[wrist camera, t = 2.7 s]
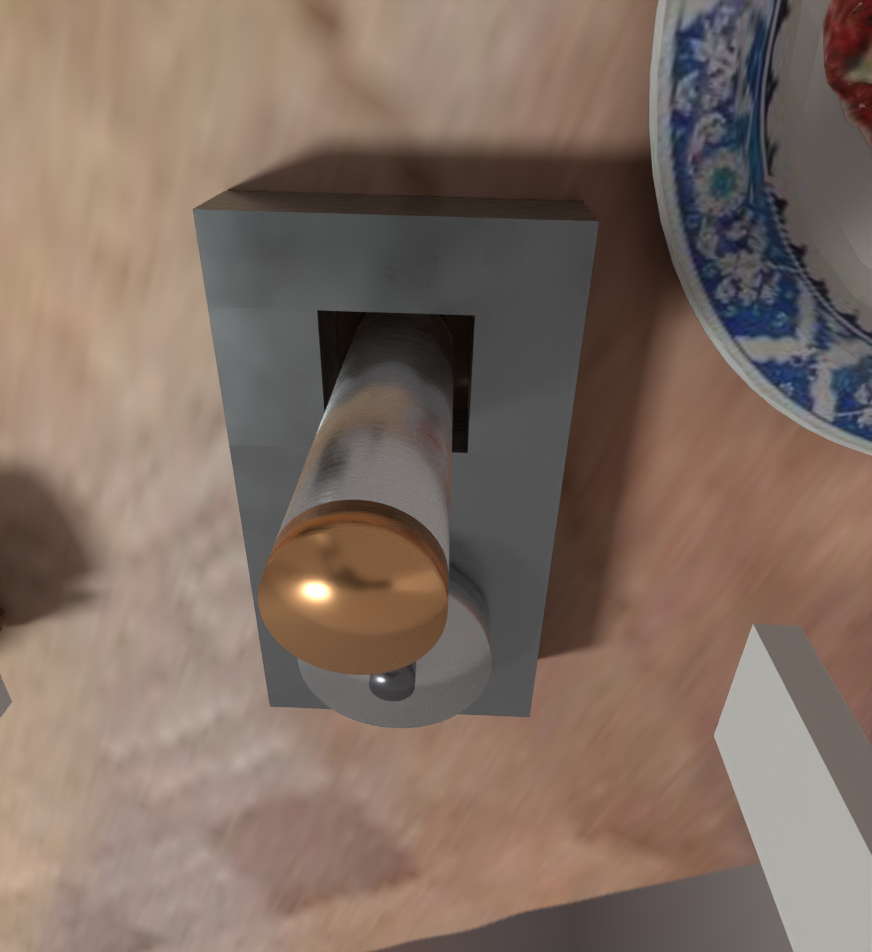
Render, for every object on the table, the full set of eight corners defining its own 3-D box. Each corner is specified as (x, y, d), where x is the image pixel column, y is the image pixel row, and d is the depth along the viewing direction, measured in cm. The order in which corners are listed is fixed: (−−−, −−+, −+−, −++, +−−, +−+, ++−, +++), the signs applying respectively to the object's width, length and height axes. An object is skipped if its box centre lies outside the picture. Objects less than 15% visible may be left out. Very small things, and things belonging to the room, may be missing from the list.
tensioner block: (225, 190, 21) (150, 234, 16) (582, 200, 21) (621, 248, 16) (285, 653, 32) (251, 769, 26) (523, 663, 31) (536, 781, 26)
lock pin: (351, 298, 23) (246, 527, 12) (456, 301, 23) (451, 535, 12) (355, 394, 25) (268, 671, 14) (452, 397, 25) (445, 678, 13)
